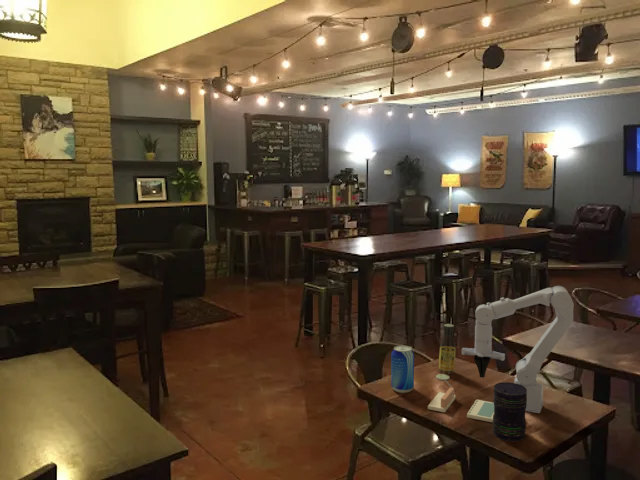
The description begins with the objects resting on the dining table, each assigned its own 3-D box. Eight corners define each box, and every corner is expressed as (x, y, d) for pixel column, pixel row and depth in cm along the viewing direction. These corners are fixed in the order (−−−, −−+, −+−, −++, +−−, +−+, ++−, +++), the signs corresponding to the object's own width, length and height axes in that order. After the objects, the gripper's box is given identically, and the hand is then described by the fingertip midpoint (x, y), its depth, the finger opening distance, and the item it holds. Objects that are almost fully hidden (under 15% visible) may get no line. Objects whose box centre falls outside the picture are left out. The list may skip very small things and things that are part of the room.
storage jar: (504, 423, 182) (506, 379, 180) (532, 435, 174) (533, 389, 172) (485, 432, 176) (487, 387, 174) (513, 445, 168) (514, 397, 166)
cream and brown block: (455, 398, 201) (455, 387, 201) (444, 412, 190) (445, 400, 190) (439, 395, 204) (439, 384, 204) (427, 408, 193) (427, 397, 192)
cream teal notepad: (502, 407, 193) (502, 404, 193) (494, 422, 182) (494, 419, 182) (476, 402, 198) (476, 399, 198) (466, 417, 187) (467, 413, 186)
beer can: (418, 390, 210) (418, 348, 207) (401, 395, 205) (402, 353, 203) (403, 383, 216) (403, 343, 214) (386, 388, 212) (386, 347, 210)
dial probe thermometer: (447, 389, 209) (434, 374, 223) (447, 391, 209) (434, 376, 224) (460, 388, 209) (446, 373, 224) (460, 391, 209) (446, 375, 224)
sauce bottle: (439, 375, 224) (439, 327, 221) (438, 369, 230) (439, 322, 228) (455, 375, 223) (456, 327, 220) (454, 370, 229) (455, 323, 226)
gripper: (459, 339, 195) (458, 376, 197) (502, 345, 188) (501, 384, 190) (464, 334, 201) (464, 370, 203) (506, 339, 194) (505, 377, 196)
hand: (482, 376), depth 197 cm, fingers closed
